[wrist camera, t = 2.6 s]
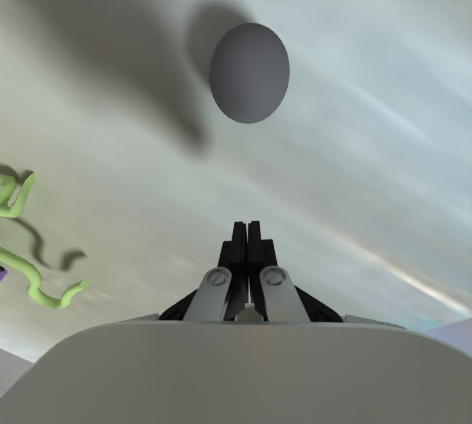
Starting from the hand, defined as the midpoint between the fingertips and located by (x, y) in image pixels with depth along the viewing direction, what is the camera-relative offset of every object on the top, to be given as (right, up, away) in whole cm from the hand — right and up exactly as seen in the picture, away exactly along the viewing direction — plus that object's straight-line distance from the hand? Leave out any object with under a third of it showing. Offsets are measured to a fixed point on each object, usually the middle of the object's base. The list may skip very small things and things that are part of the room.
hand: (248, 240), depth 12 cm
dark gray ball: (0, +11, 0) cm, 11 cm away
